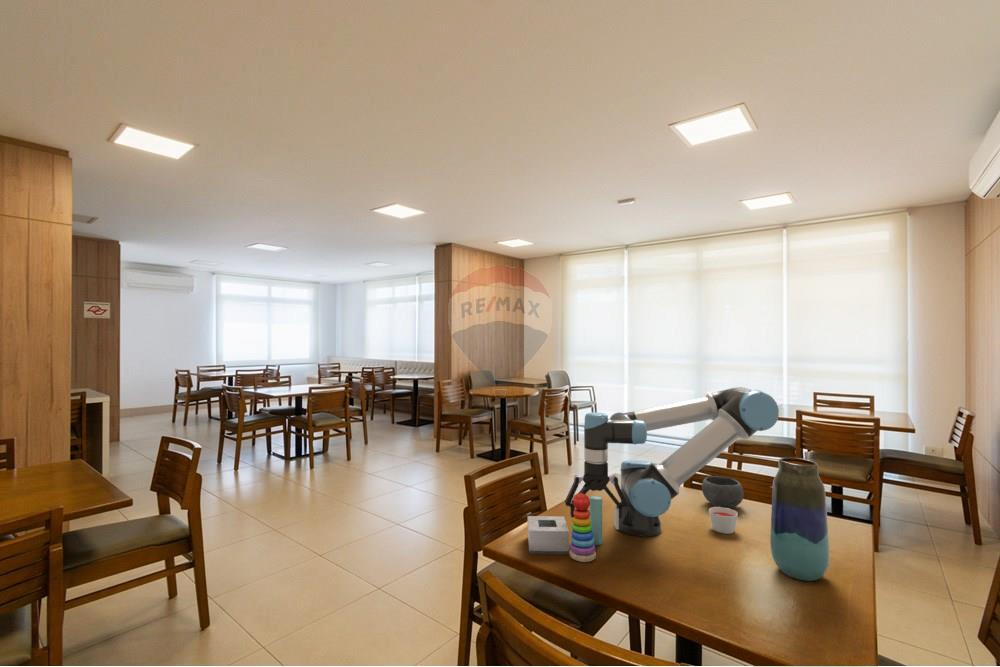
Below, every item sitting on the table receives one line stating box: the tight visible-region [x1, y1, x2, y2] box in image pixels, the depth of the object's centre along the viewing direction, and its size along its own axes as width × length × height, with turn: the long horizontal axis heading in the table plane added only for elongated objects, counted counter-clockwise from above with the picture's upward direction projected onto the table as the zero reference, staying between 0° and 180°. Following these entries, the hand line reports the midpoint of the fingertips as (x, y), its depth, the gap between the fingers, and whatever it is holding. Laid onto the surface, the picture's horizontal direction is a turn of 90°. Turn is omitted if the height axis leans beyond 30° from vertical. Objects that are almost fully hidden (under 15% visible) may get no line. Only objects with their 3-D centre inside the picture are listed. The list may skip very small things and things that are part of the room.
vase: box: [770, 457, 831, 582], centre depth 128 cm, size 14×14×31 cm
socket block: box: [527, 515, 570, 556], centre depth 145 cm, size 12×12×7 cm
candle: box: [708, 506, 739, 535], centre depth 158 cm, size 9×9×6 cm
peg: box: [589, 496, 603, 546], centre depth 147 cm, size 4×4×14 cm
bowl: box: [701, 475, 745, 509], centre depth 181 cm, size 15×15×10 cm
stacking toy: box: [569, 492, 597, 563], centre depth 137 cm, size 8×8×19 cm
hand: (595, 527), depth 147 cm, fingers open, 12 cm apart
